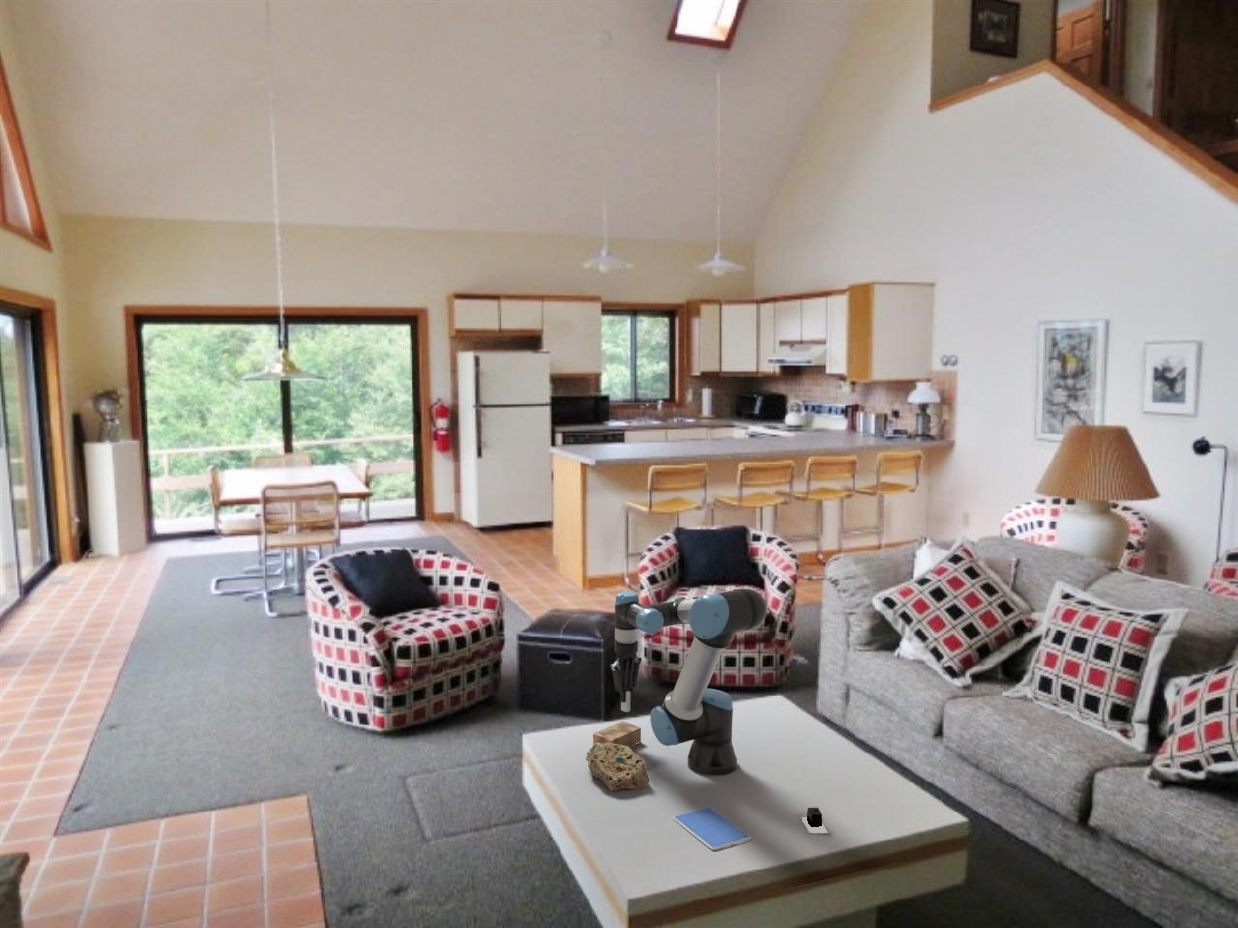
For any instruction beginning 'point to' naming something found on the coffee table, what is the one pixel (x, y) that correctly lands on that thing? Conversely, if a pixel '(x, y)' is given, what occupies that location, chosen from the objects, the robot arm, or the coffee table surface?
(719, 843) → the tablet computer
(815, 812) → the black block
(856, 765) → the coffee table surface
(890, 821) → the coffee table surface
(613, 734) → the light brown wooden block
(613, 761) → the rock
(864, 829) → the coffee table surface
